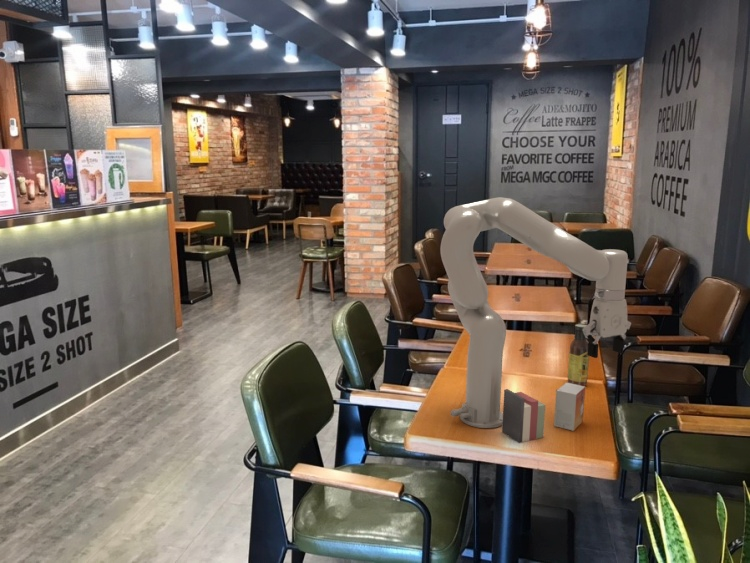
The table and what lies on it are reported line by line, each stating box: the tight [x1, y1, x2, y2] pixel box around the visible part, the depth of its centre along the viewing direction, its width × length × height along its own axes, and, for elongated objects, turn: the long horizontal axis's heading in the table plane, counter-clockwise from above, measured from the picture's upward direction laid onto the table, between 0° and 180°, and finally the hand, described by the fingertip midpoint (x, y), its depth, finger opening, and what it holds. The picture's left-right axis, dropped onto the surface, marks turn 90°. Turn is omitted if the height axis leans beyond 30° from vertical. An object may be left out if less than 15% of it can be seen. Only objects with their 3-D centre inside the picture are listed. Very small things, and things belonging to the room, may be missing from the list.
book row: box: [501, 388, 546, 444], centre depth 153 cm, size 8×7×12 cm
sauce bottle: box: [567, 323, 590, 387], centre depth 190 cm, size 6×6×20 cm
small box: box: [553, 382, 586, 432], centre depth 160 cm, size 8×6×10 cm
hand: (605, 354), depth 163 cm, fingers open, 9 cm apart
